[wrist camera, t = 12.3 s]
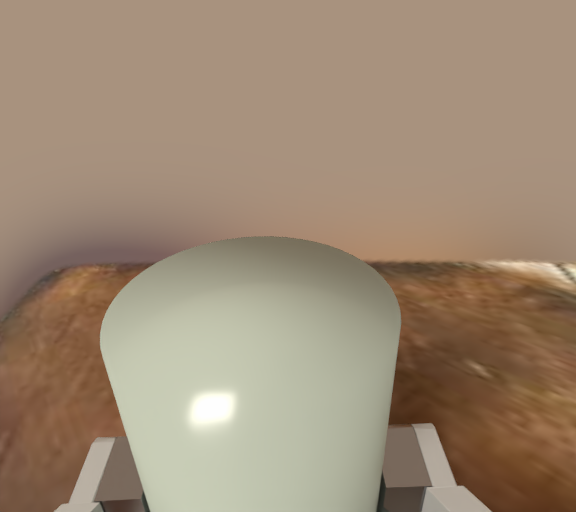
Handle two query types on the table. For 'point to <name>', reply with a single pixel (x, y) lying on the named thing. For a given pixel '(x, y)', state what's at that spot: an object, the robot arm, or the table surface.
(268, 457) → the pale green canister
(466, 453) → the table surface
